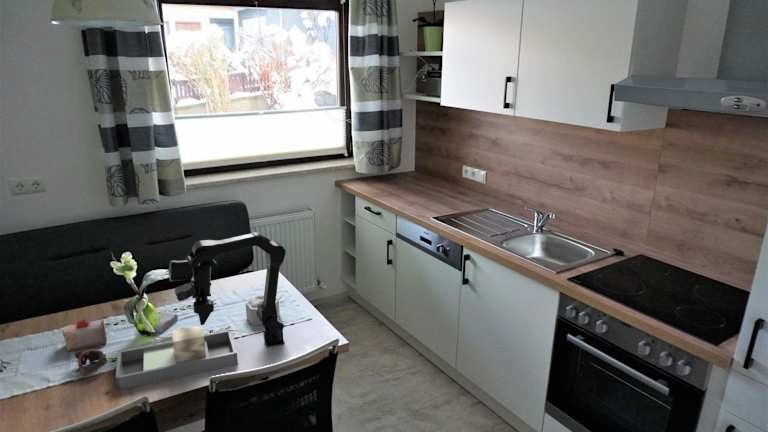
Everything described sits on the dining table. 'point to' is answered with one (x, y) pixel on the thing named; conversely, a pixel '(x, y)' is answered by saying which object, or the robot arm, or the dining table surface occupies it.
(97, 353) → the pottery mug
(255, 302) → the lumpy-topped squat cylinder
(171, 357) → the grey shallow rectangular tray
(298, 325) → the dining table surface
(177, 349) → the birch block
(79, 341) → the food item
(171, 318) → the stone block
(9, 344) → the dining table surface
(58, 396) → the dining table surface
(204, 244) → the robot arm
